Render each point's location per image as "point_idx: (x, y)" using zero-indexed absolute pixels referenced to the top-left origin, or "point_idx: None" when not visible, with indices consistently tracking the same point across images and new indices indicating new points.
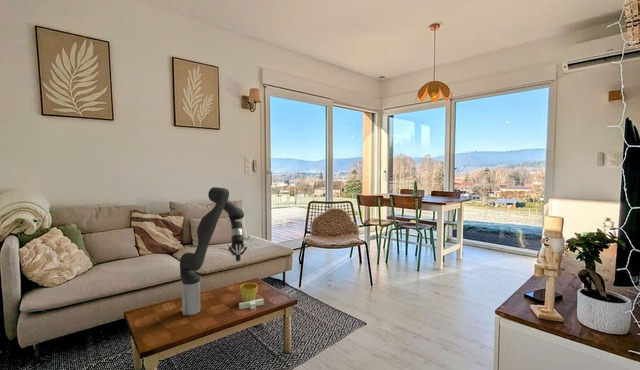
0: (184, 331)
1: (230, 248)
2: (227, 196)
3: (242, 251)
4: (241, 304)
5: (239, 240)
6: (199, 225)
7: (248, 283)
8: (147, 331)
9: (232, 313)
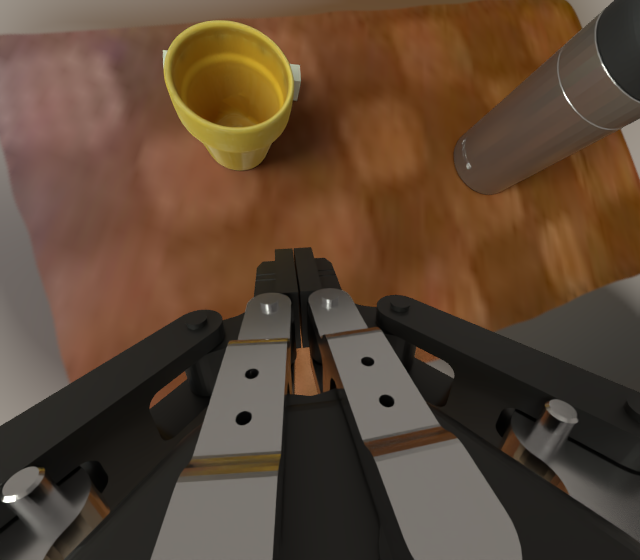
0: (490, 32)
1: (580, 388)
2: None
3: (182, 351)
4: (291, 65)
5: None
6: None
7: (223, 126)
8: None
9: (331, 67)
